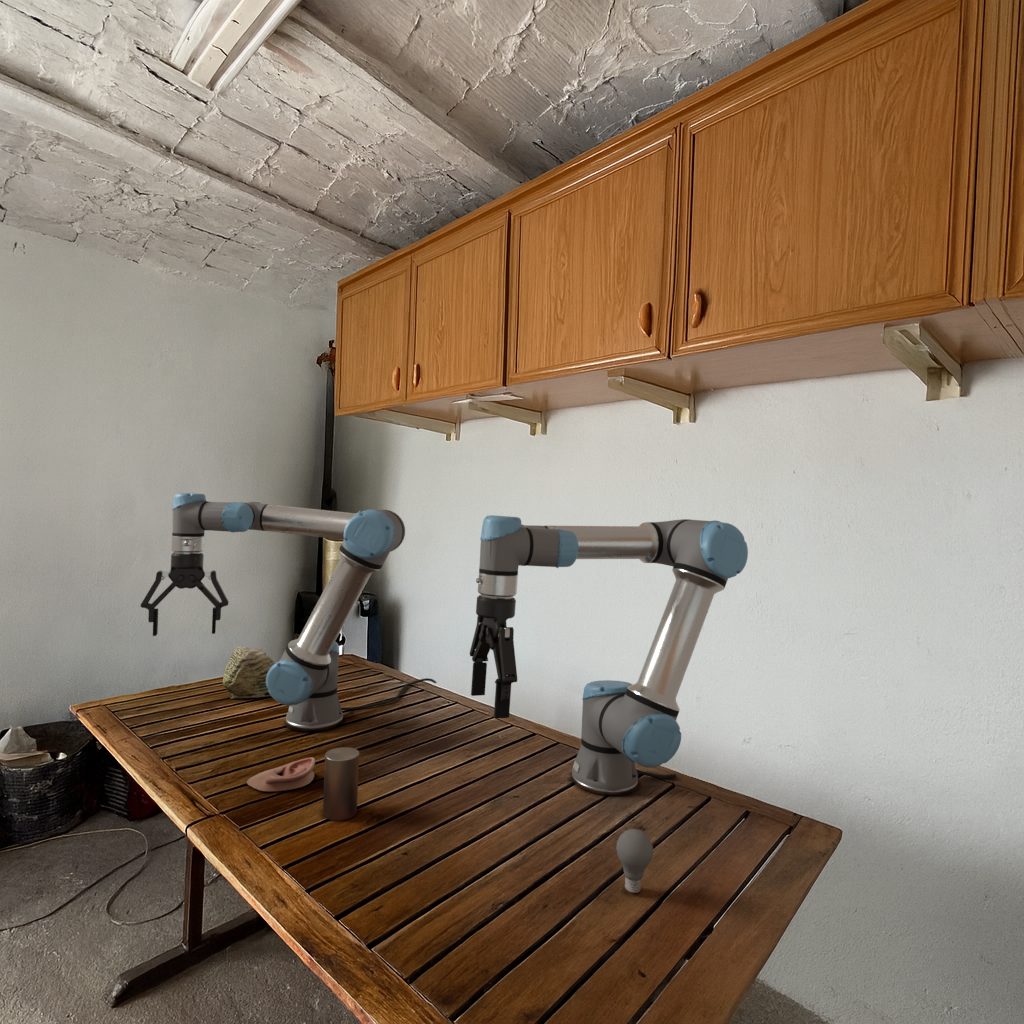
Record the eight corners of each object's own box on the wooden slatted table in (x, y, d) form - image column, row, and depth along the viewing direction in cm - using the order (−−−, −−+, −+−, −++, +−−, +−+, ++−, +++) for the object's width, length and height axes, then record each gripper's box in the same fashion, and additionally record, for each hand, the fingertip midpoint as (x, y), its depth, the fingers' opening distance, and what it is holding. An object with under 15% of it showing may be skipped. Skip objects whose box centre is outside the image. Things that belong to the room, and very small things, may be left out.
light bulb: (610, 879, 108) (613, 822, 108) (644, 879, 109) (647, 822, 109) (619, 902, 102) (622, 840, 102) (655, 901, 103) (658, 840, 103)
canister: (346, 823, 124) (349, 762, 123) (316, 817, 125) (318, 757, 125) (362, 807, 130) (364, 749, 130) (333, 802, 132) (335, 745, 131)
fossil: (218, 695, 195) (220, 647, 195) (278, 685, 208) (279, 640, 207) (228, 703, 189) (230, 653, 188) (289, 692, 201) (290, 645, 201)
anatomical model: (238, 769, 136) (269, 749, 147) (238, 787, 136) (269, 766, 147) (295, 777, 133) (322, 756, 144) (294, 796, 133) (321, 773, 144)
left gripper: (129, 553, 156) (126, 638, 157) (239, 554, 166) (236, 634, 166) (134, 550, 163) (132, 632, 163) (240, 551, 173) (237, 628, 173)
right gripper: (459, 586, 132) (452, 687, 132) (501, 606, 109) (492, 729, 109) (493, 586, 135) (486, 686, 135) (540, 607, 111) (532, 727, 112)
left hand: (184, 633), depth 165 cm, fingers open, 13 cm apart
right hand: (488, 705), depth 122 cm, fingers open, 13 cm apart
